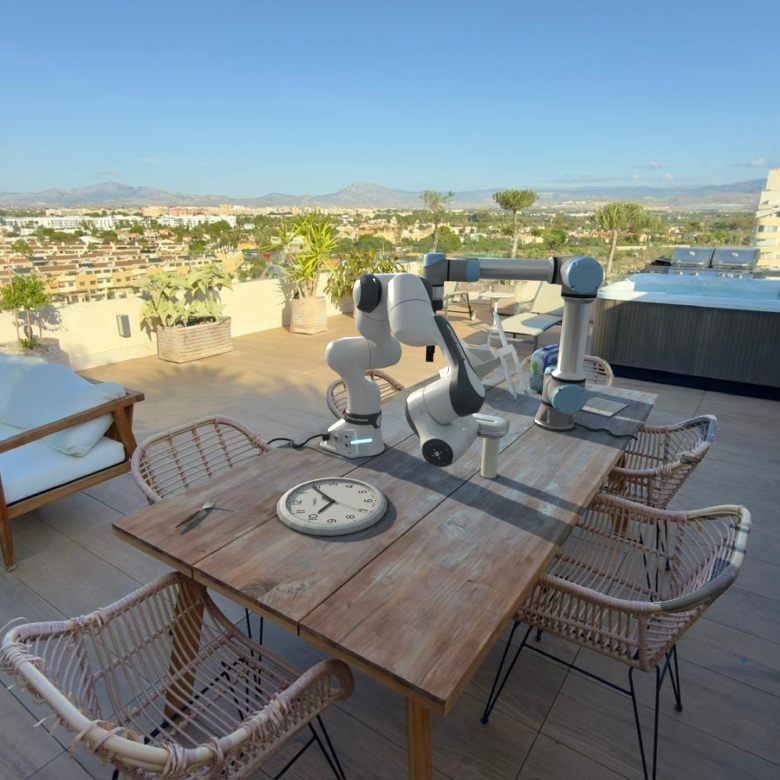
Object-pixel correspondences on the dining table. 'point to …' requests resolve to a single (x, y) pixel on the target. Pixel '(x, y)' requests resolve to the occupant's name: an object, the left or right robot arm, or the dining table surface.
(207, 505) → the fork
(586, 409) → the invitation card
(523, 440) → the dining table surface
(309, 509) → the wall clock
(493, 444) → the jar
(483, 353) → the white plastic object
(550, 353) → the lunch box
